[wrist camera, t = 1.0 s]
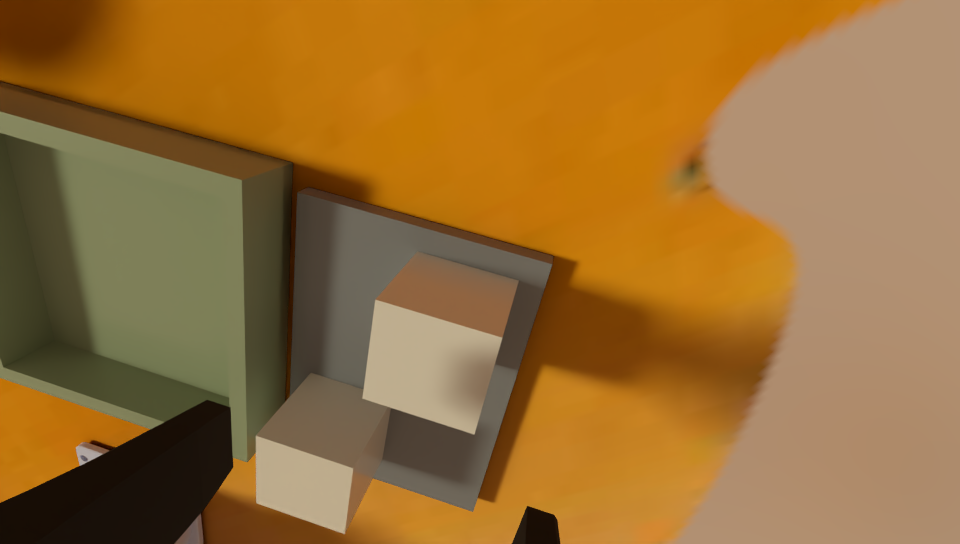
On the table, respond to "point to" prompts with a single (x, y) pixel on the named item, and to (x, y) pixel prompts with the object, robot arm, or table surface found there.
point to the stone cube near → (437, 340)
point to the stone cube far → (320, 452)
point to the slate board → (349, 314)
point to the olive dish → (141, 265)
